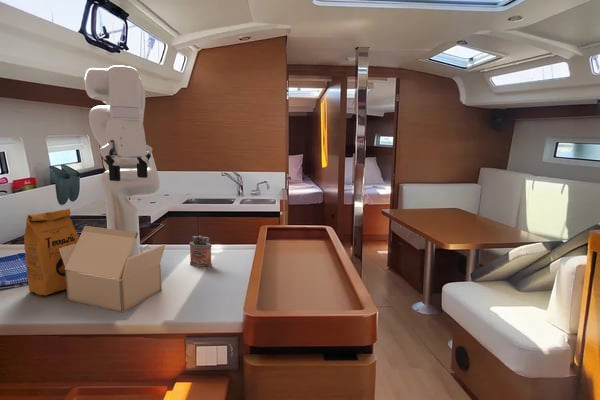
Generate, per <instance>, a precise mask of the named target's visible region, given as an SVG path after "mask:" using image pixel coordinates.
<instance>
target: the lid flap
mask: <svg viewBox="0 0 600 400" xmlns="http://www.w3.org/2000/svg"><path fill="white" fill-rule="evenodd" d="M137 235H138V233H137V232H131V231H123V230H115V229H107V227H105V228H104V227H100V226H99V227H98V226H91V225H90V226H89V225H84V227H83V229H82V231H81V234H80V235H79V236H78V238H79V239H78V241H77V244H76V246H75V248H74V250H73V252H72V254H71V256H70V258H69V261H68V263H67V265H66V267H65V270H69V271H74V272H80V273H86V274H91V275H97V276H103V277H108V278H114V279H119V280H120V277H121V275H122V272H123V270H124V267H125V265H126V261H127V258H129V255H130V253H131V250H132V248H133V245H134V243H135V240H136V238H137Z"/></svg>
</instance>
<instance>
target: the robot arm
mask: <svg viewBox="0 0 600 400" xmlns="http://www.w3.org/2000/svg"><path fill="white" fill-rule="evenodd" d="M139 73H140V72H139V71H138V70H137V69H136V68H134V67H132V66H127V65H126V66H125V65H112V66H111V65H110V67H108V68H99V67H91V68H88V69H87V70H86V72H85V75H84V76H85V77H84V87H85V92H86V94H87V96H88V97H89V98H91V99H93V100H96V101H101V102H102V103H103V104H105V105H96V106H93V107H92V108H91V109H90V110H89V113H88V120H89V126H90V130H91V132H92V135H93V136H94V138H95V140H96V141H97V143H98V145H99V147H100V148H99V149H98V152H99V153H100V155H101V159H102V164H103V167H104V169H105V171H104V172H103V173H102V174H101V176H100V183H101V184H100V186H101V189H102V194H103V197H104V203H105V213H106V214H105V215H106V225H107V226H106V228H107V229H115V230H123V231H131V232H137V233H138V235H137V238H136V240H135V243H134V245H133V248H132V250H131V253H130V255H129V257H132V256H135V255H137V254H140V253H142V252H145V251H148V250H150V245H149V244H144V245H140V244H141V242H140V241H141V240H140V224H139V221H140V219H139V211H138V207H137V206H136V205H135V204H134V203H133V202H132V201H131V200H130V199H129V198H135V197H136V198H137V197H138V198H139V197H150V196H155V195H156V194H158V192H160V187H161V184H160V177H159V173H158V170H157V165H156V162H155V158H154V156H153V153H152V152H153V147H151V146H150V145H148V144H147V142H146V133H145V128H144V124H143V123H144V116H145V107H146V91H145V89H144V87H143V81H142V78H141V77H140V74H139Z"/></svg>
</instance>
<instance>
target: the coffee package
mask: <svg viewBox="0 0 600 400" xmlns="http://www.w3.org/2000/svg"><path fill="white" fill-rule="evenodd" d="M70 215H71V209H70V208H66V209H61V210H60V209H59V210H55V211H54V210H53V211H49V212H48V211H47V212H40V213H33V214H32V213H31V214H28V215H27V216H26V220H25V226H26V227H25V231H24V235H23V236H24V237H23V239H24V240H23V242H24V245H23V246H24V254H25V266H26V267H25V268H26V276H27V281H28V282H27V284H28V292H30V293H35V294H36V295H38V296H48V295H51V294H55V293H58V292H61V291H67V286H66V275H65V271H66V270H65V265H64V262H63V260H62V257H61V254H60V251H59V248H62V247H65V246H69V245H72V244H76V243H77V241H78V239H79V235H78V233H77V230H76V229H75V227H74V224H73V221H72V218H70Z"/></svg>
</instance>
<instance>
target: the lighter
mask: <svg viewBox="0 0 600 400" xmlns="http://www.w3.org/2000/svg"><path fill="white" fill-rule="evenodd" d="M188 246H189V254H190V256H189V257H190V259H189V260H190V261H189V266H192V265H193V267H196V266H198V267H197V268H202V267H210V268H212V267H213V264H212V247H213V246H212V244H211V243H210V237H207V236H202V235H198V236H195V235H193V236H192V241H190V242H189V245H188ZM211 266H212V267H211Z"/></svg>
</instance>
